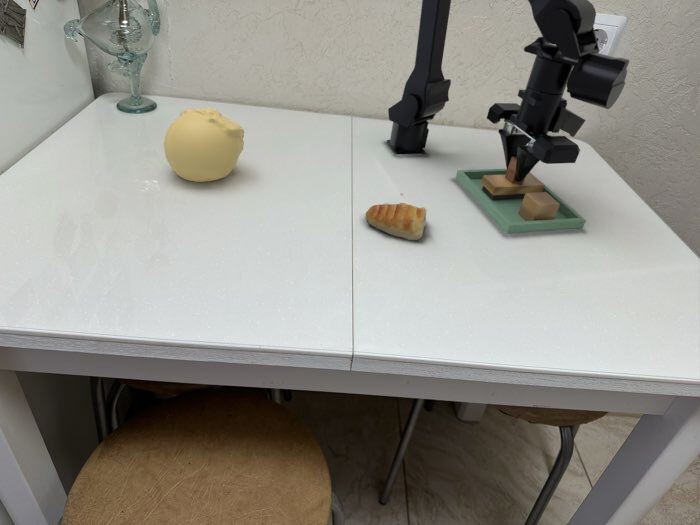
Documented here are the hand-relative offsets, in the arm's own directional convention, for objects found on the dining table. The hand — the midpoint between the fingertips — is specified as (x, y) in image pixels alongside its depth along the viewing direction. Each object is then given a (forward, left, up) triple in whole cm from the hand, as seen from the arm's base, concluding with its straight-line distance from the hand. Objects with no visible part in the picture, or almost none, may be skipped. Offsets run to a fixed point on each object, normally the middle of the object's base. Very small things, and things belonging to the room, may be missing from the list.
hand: (514, 177), depth 86 cm
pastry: (-24, -7, -4) cm, 26 cm away
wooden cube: (0, -8, -3) cm, 9 cm away
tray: (0, -2, -4) cm, 5 cm away
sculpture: (-52, +13, -4) cm, 54 cm away
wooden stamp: (0, 0, -3) cm, 3 cm away
